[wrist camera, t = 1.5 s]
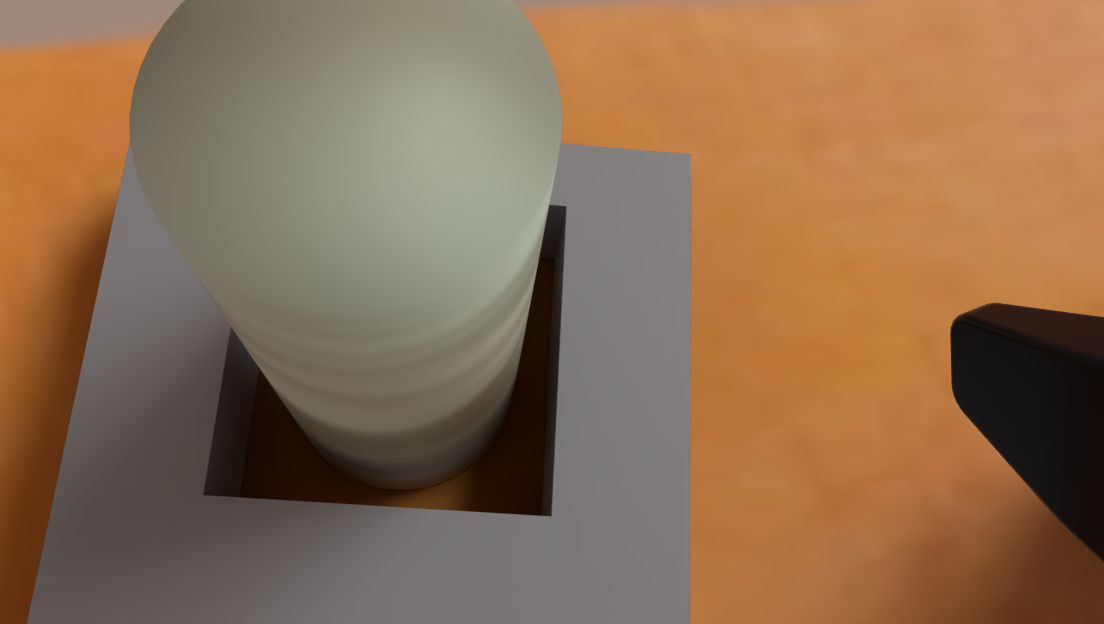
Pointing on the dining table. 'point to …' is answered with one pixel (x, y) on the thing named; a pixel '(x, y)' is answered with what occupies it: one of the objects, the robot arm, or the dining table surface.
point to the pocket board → (379, 531)
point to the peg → (360, 208)
